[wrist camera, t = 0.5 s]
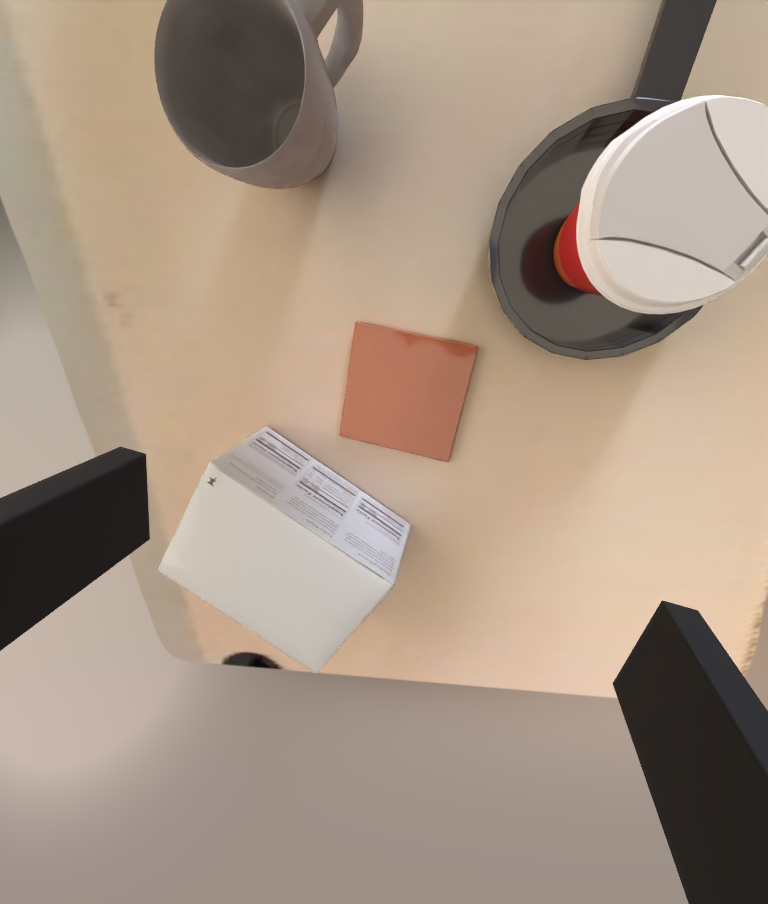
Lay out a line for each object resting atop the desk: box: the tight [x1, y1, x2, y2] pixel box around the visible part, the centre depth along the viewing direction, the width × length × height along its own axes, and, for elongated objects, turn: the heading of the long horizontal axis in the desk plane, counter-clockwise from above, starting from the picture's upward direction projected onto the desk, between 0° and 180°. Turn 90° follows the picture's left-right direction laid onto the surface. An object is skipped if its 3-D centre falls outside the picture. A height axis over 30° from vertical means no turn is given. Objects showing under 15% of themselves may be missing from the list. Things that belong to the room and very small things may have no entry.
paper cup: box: [553, 95, 768, 314], centre depth 22 cm, size 8×8×14 cm
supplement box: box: [158, 426, 412, 674], centre depth 37 cm, size 17×13×9 cm
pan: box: [488, 97, 703, 360], centre depth 27 cm, size 14×14×4 cm
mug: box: [155, 0, 363, 189], centre depth 25 cm, size 12×9×10 cm
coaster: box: [340, 322, 478, 462], centre depth 35 cm, size 10×10×1 cm
